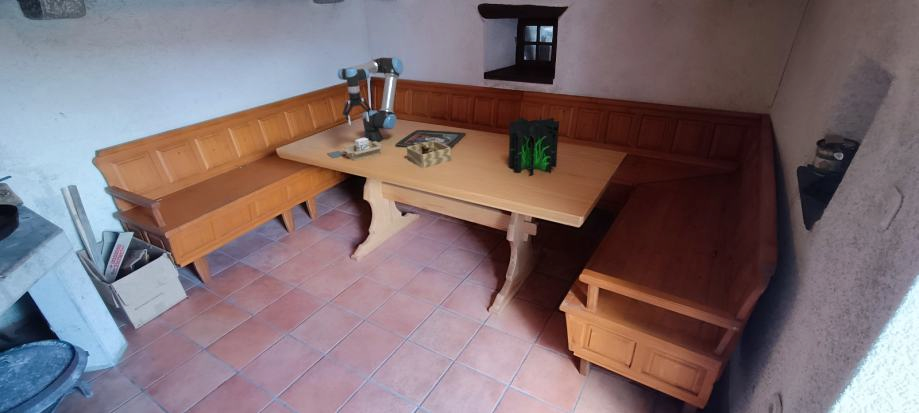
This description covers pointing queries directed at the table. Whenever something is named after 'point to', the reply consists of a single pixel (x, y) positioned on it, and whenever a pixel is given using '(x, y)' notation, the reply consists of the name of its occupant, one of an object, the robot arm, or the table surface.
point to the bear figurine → (426, 149)
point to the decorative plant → (533, 145)
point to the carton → (363, 151)
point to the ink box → (361, 144)
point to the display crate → (429, 154)
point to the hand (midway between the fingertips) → (358, 122)
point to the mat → (335, 154)
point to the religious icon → (431, 138)
